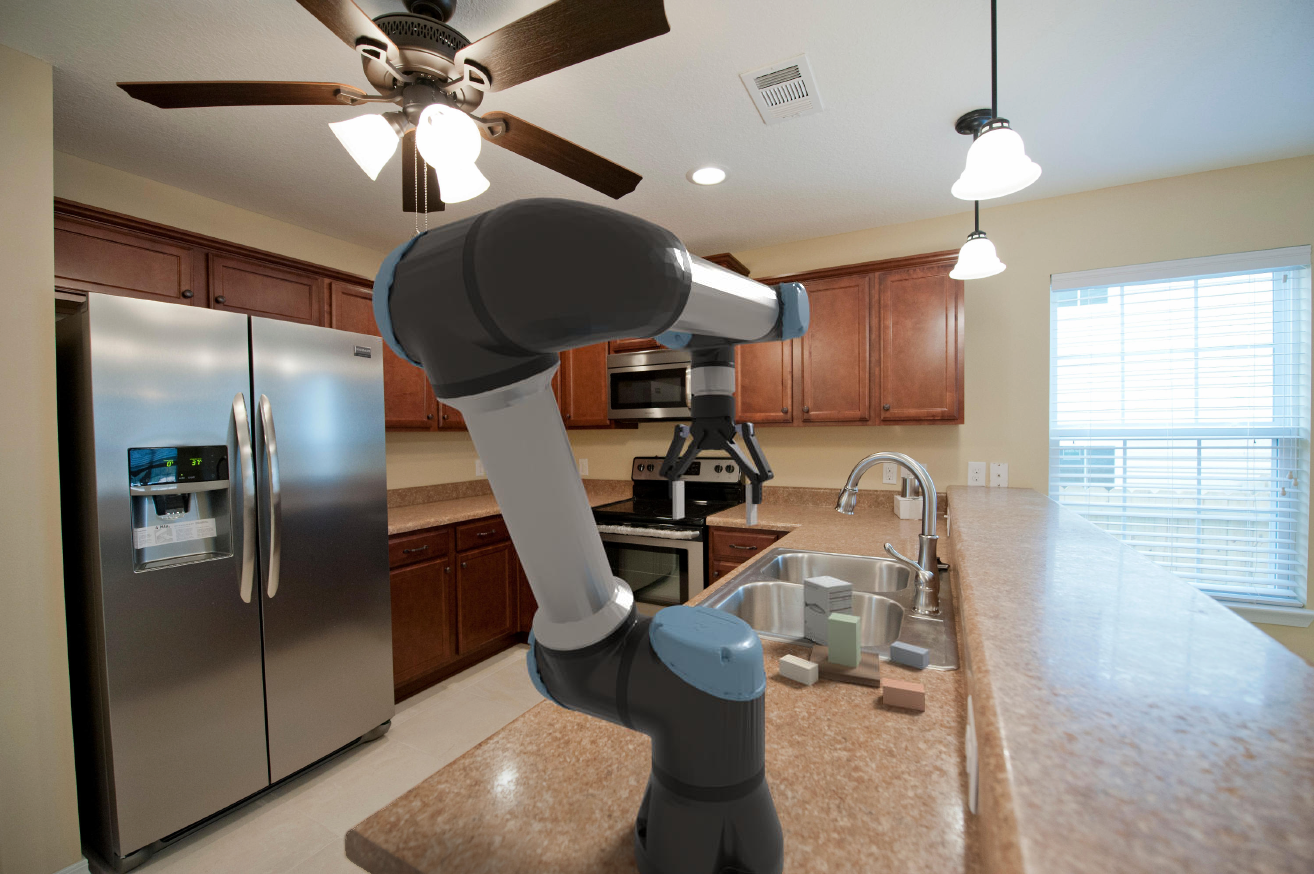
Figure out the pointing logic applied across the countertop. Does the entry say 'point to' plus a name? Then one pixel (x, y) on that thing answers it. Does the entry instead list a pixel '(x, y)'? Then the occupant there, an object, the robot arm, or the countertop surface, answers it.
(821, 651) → the walnut board
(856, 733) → the countertop surface
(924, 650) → the slate brick
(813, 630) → the supplement box
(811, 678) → the cream brick
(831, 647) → the sage brick
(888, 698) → the terracotta brick
